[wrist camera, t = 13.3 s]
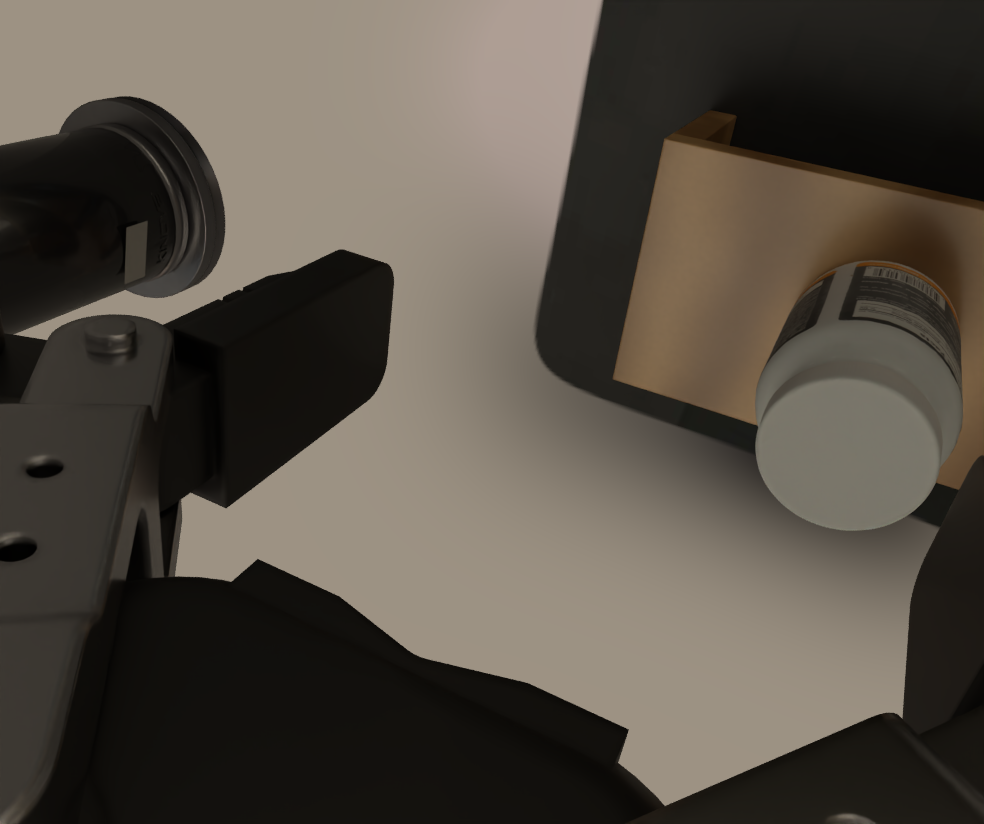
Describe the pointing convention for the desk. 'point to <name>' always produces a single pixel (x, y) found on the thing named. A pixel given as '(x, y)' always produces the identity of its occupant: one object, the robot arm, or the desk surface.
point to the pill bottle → (861, 397)
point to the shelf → (781, 268)
